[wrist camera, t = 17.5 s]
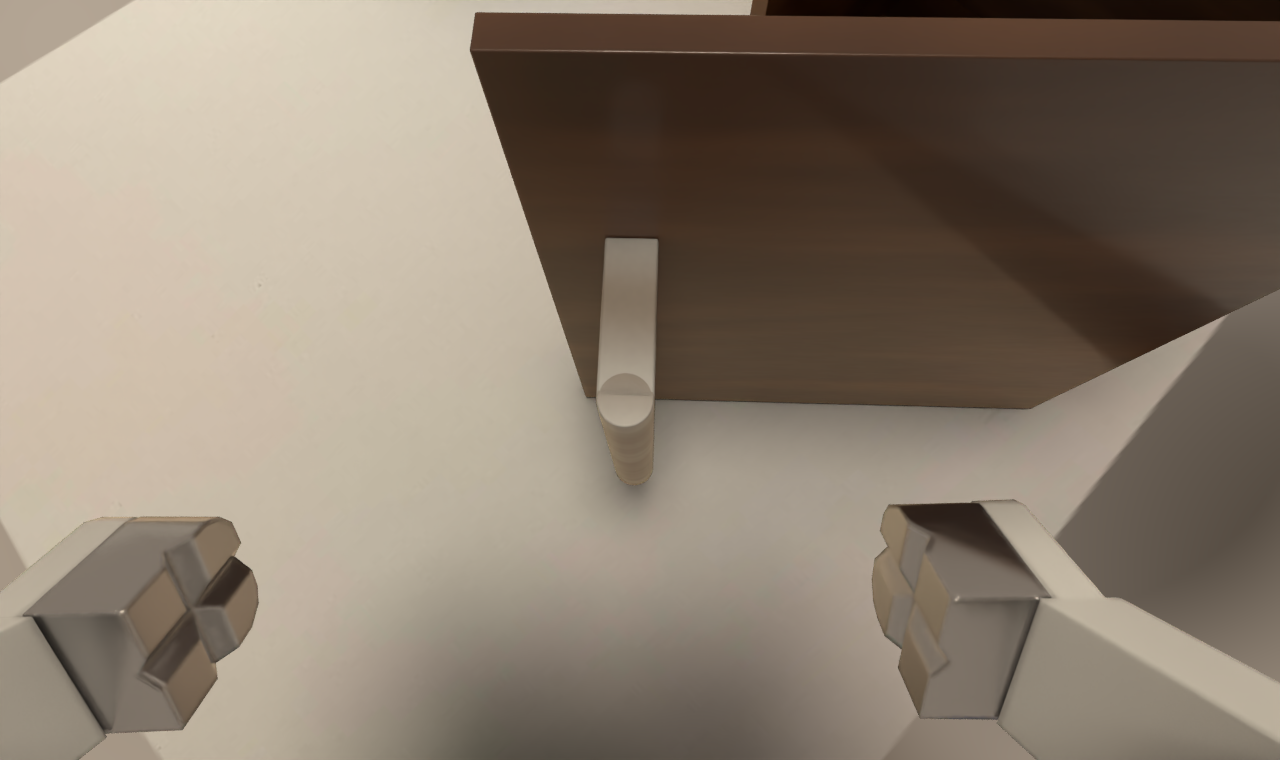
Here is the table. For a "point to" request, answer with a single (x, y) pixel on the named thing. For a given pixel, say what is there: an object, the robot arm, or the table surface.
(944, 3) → the cupboard
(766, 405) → the table surface
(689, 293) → the cupboard door
